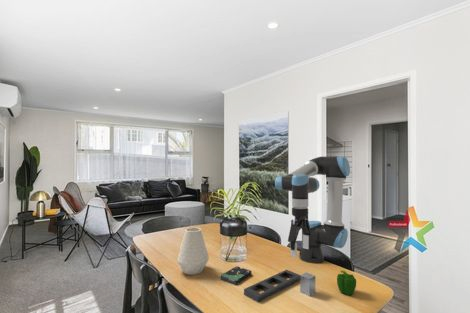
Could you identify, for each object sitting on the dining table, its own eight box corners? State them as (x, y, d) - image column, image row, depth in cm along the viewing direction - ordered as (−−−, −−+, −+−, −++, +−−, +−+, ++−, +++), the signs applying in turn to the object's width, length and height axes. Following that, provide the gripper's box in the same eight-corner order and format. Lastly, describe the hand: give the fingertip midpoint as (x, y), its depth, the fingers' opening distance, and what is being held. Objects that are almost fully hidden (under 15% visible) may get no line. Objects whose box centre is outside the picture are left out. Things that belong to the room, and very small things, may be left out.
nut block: (306, 288, 126) (306, 272, 126) (315, 292, 122) (315, 275, 122) (300, 292, 123) (300, 275, 123) (309, 296, 119) (309, 279, 119)
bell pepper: (358, 292, 123) (358, 270, 123) (353, 299, 117) (353, 276, 117) (340, 286, 129) (340, 266, 129) (334, 292, 122) (334, 271, 122)
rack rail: (286, 274, 142) (286, 269, 142) (300, 280, 135) (300, 275, 135) (243, 294, 120) (243, 289, 120) (257, 302, 114) (257, 296, 114)
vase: (213, 266, 152) (213, 226, 152) (201, 279, 135) (201, 235, 135) (185, 262, 157) (186, 224, 157) (171, 275, 140) (171, 232, 140)
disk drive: (236, 270, 147) (219, 280, 135) (236, 265, 147) (219, 275, 135) (251, 275, 141) (236, 286, 129) (251, 270, 141) (236, 280, 129)
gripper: (303, 202, 135) (303, 243, 134) (280, 210, 115) (280, 258, 115) (317, 204, 130) (317, 247, 130) (296, 212, 110) (295, 262, 110)
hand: (299, 252), depth 122 cm, fingers open, 13 cm apart
